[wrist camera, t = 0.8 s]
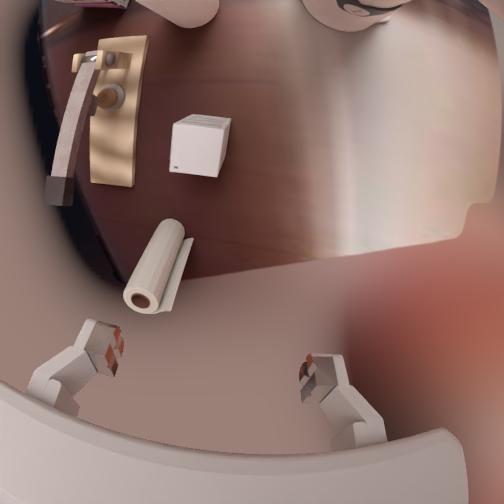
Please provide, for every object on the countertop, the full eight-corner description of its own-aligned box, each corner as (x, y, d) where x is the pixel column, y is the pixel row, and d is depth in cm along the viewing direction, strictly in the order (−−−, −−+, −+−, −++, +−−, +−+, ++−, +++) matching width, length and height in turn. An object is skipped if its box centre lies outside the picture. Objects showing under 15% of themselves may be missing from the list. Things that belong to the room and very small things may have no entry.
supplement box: (226, 156, 48) (217, 179, 37) (186, 150, 47) (167, 172, 37) (233, 117, 44) (225, 129, 33) (191, 112, 43) (171, 123, 32)
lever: (95, 62, 31) (82, 50, 26) (114, 61, 31) (102, 47, 26) (61, 202, 35) (43, 203, 30) (79, 204, 35) (62, 206, 30)
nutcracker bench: (103, 40, 32) (66, 36, 23) (149, 36, 33) (120, 27, 24) (94, 179, 50) (64, 205, 40) (134, 184, 51) (108, 211, 41)
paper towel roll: (153, 226, 56) (115, 295, 39) (173, 212, 55) (138, 282, 37) (173, 249, 60) (146, 323, 43) (194, 237, 58) (170, 312, 41)
